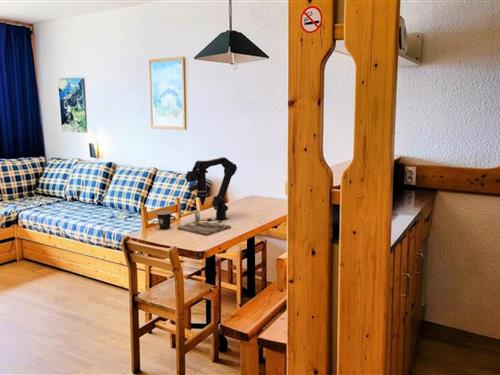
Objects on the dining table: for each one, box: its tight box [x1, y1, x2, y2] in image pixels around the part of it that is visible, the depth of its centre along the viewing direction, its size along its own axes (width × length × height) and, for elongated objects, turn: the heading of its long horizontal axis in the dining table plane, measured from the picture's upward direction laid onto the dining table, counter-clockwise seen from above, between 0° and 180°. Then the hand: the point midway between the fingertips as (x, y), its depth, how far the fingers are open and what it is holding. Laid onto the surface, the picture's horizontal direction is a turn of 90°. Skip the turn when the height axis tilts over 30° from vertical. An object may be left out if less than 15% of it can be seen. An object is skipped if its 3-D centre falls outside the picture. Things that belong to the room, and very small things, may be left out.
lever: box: [194, 209, 225, 227], centre depth 275 cm, size 20×4×8 cm, turn 66°
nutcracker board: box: [177, 217, 232, 237], centre depth 276 cm, size 21×26×4 cm
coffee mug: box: [156, 210, 176, 231], centre depth 278 cm, size 12×9×10 cm
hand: (202, 203), depth 287 cm, fingers open, 9 cm apart
